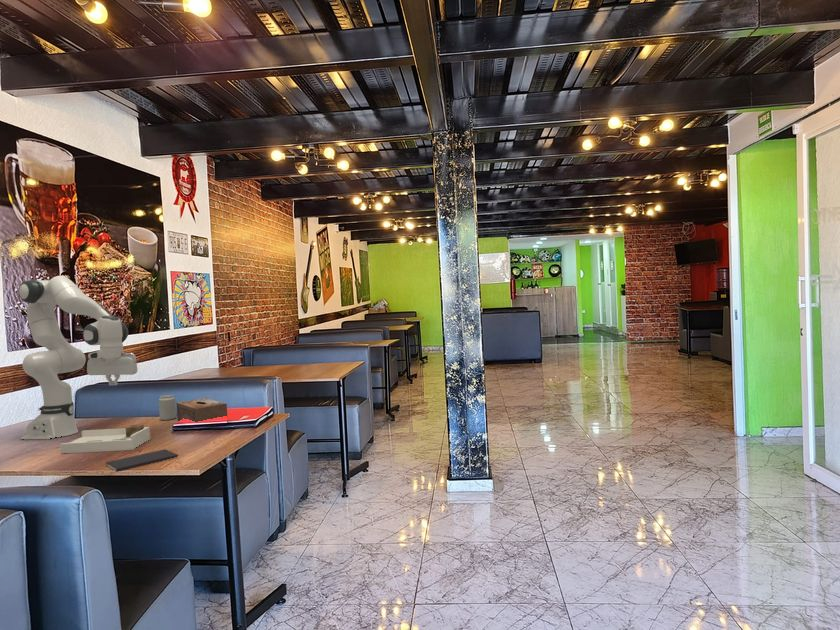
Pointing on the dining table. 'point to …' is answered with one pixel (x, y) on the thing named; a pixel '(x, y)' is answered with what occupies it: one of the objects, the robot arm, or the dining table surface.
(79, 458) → the dining table surface
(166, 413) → the can
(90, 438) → the box
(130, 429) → the walnut block
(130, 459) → the notebook
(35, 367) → the robot arm
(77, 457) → the dining table surface
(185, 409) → the tissue box cover
